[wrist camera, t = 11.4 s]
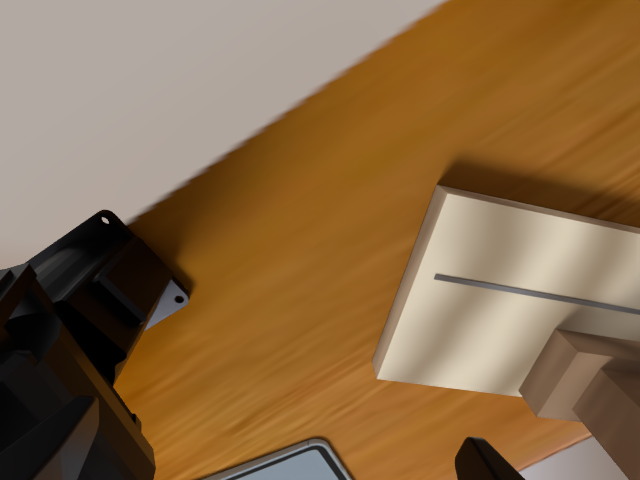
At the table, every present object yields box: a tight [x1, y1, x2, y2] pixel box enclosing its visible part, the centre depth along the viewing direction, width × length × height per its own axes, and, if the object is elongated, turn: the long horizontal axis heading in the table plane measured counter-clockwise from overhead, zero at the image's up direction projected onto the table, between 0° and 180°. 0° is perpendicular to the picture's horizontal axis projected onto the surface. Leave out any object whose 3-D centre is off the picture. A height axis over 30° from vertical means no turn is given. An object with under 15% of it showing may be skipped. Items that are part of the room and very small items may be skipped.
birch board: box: [372, 185, 640, 397], centre depth 22 cm, size 18×12×2 cm, turn 77°
